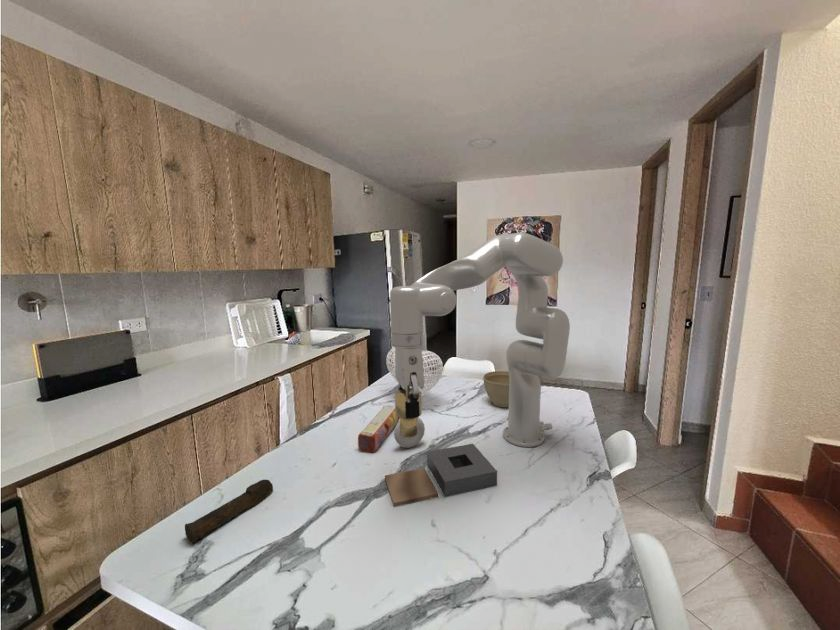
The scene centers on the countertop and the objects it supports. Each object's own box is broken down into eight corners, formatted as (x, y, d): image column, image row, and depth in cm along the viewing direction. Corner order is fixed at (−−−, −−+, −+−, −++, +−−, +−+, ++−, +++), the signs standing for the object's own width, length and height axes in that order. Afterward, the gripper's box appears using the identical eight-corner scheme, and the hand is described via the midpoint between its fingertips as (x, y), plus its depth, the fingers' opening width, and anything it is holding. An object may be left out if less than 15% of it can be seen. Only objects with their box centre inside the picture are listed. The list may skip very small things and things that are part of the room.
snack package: (376, 455, 103) (375, 433, 101) (356, 451, 104) (355, 430, 103) (400, 423, 123) (400, 405, 122) (383, 420, 125) (383, 403, 123)
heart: (451, 406, 135) (450, 351, 132) (418, 417, 126) (417, 358, 123) (410, 386, 158) (409, 339, 154) (380, 394, 149) (379, 344, 145)
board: (424, 471, 94) (424, 467, 94) (438, 497, 83) (438, 493, 83) (384, 478, 91) (384, 475, 91) (393, 506, 80) (393, 503, 80)
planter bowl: (503, 392, 149) (503, 368, 147) (533, 405, 135) (534, 378, 134) (474, 400, 140) (474, 375, 139) (503, 415, 127) (504, 387, 125)
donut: (397, 453, 103) (396, 421, 101) (392, 447, 106) (391, 417, 104) (426, 445, 107) (426, 414, 106) (422, 440, 110) (421, 410, 109)
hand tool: (192, 548, 70) (189, 528, 69) (184, 539, 72) (182, 519, 71) (279, 497, 85) (277, 480, 84) (270, 491, 87) (268, 474, 86)
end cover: (417, 424, 89) (417, 387, 87) (425, 436, 83) (424, 396, 81) (393, 428, 87) (392, 390, 85) (399, 440, 81) (398, 400, 79)
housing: (472, 456, 101) (473, 443, 100) (496, 485, 87) (497, 471, 87) (427, 465, 97) (426, 451, 96) (444, 497, 83) (444, 481, 83)
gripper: (434, 346, 74) (434, 424, 77) (412, 331, 91) (413, 396, 93) (400, 348, 72) (402, 429, 75) (384, 333, 88) (386, 399, 91)
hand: (408, 410), depth 84 cm, fingers closed on end cover, 6 cm apart
